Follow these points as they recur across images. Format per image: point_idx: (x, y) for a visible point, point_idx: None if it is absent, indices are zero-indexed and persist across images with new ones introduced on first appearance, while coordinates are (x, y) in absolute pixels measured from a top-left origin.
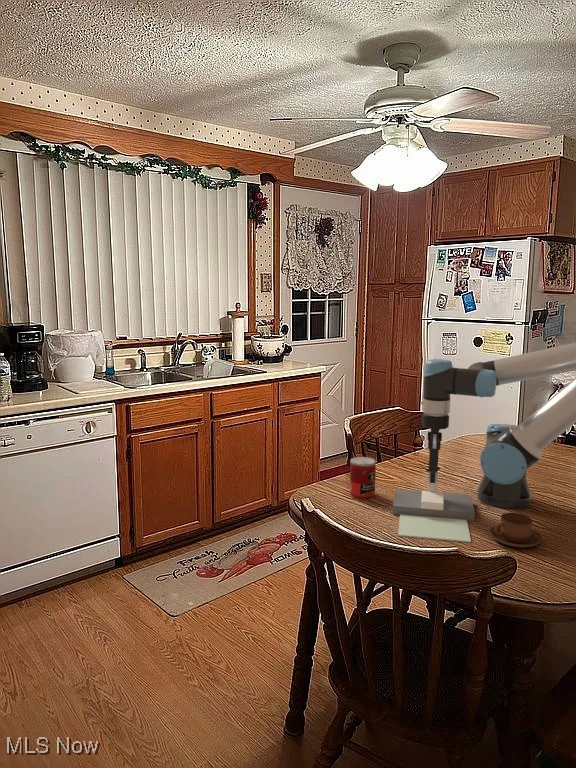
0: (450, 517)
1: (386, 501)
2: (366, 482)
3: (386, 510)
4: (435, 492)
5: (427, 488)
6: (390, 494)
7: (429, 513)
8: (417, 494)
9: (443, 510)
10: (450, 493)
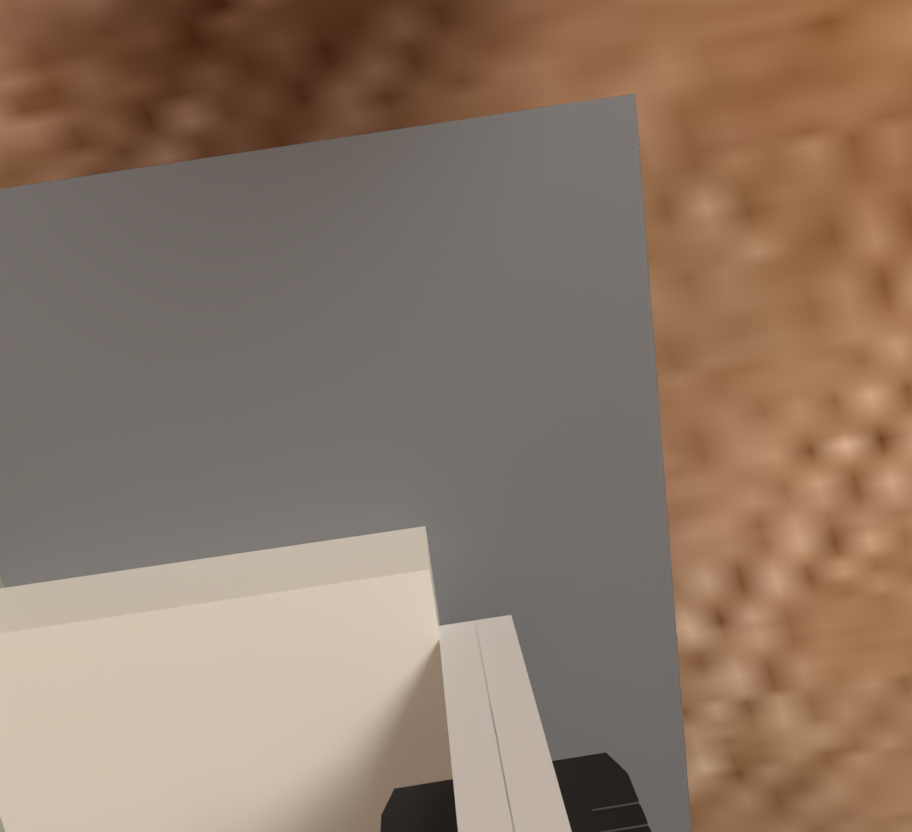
0: None
1: (392, 20)
2: None
3: (49, 93)
4: (426, 745)
5: (443, 665)
6: (692, 21)
7: None
8: (515, 454)
9: None
10: (686, 802)
